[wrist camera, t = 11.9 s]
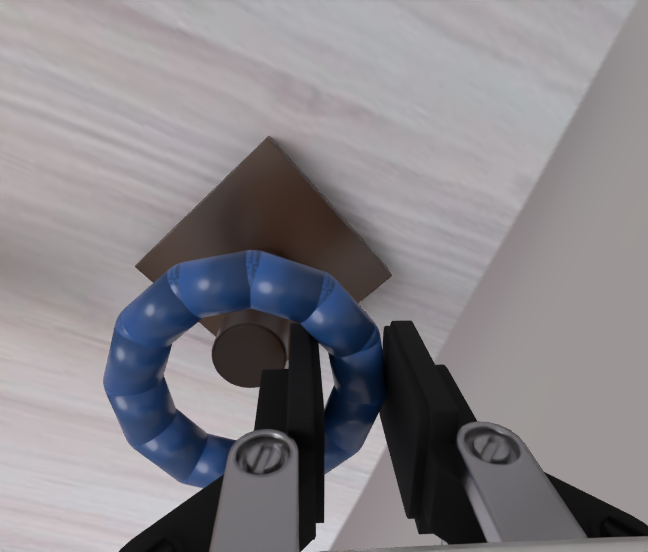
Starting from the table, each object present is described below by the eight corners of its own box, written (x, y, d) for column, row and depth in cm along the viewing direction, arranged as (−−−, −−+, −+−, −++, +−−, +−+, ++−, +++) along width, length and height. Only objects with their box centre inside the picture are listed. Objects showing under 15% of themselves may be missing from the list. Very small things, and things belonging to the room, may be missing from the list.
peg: (269, 135, 18) (248, 158, 11) (388, 268, 20) (439, 361, 13) (142, 259, 20) (47, 353, 12) (266, 367, 22) (249, 501, 15)
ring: (258, 186, 10) (253, 198, 9) (429, 375, 13) (444, 407, 11) (63, 360, 12) (33, 392, 10) (247, 502, 14) (242, 543, 13)
